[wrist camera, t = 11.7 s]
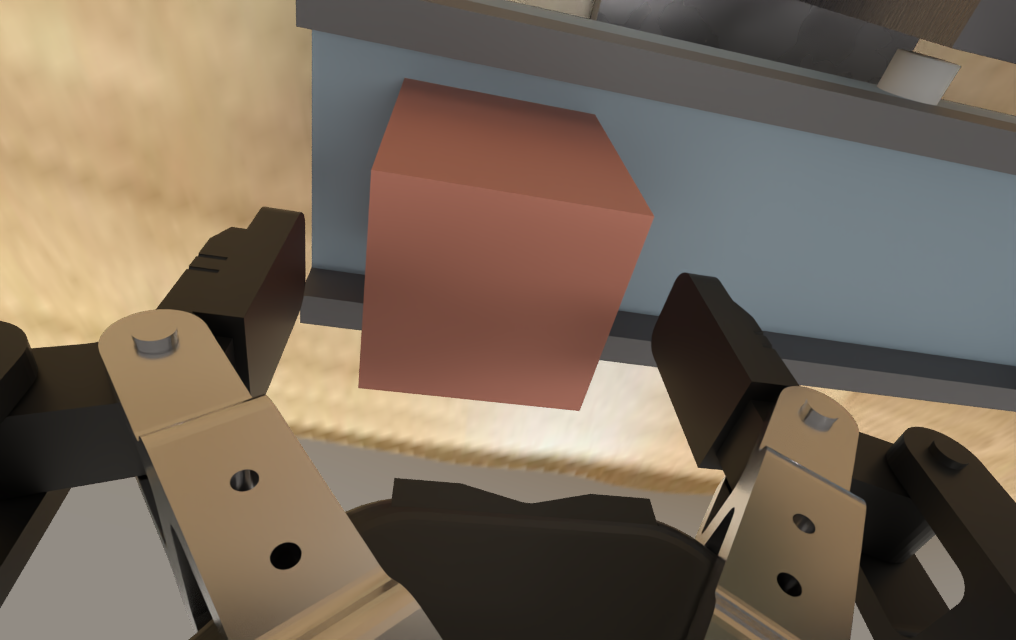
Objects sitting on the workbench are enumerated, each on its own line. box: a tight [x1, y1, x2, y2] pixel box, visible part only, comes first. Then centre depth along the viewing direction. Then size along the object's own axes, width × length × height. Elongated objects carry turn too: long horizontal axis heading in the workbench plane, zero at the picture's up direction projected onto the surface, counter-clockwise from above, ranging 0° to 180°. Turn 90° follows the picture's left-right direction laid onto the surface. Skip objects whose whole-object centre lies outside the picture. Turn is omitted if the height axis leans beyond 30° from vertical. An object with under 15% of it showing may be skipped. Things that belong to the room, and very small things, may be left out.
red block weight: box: [358, 78, 654, 411], centre depth 14 cm, size 5×5×6 cm
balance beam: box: [296, 0, 1016, 412], centre depth 17 cm, size 32×11×5 cm, turn 78°
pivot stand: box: [590, 0, 1016, 85], centre depth 22 cm, size 14×18×13 cm
